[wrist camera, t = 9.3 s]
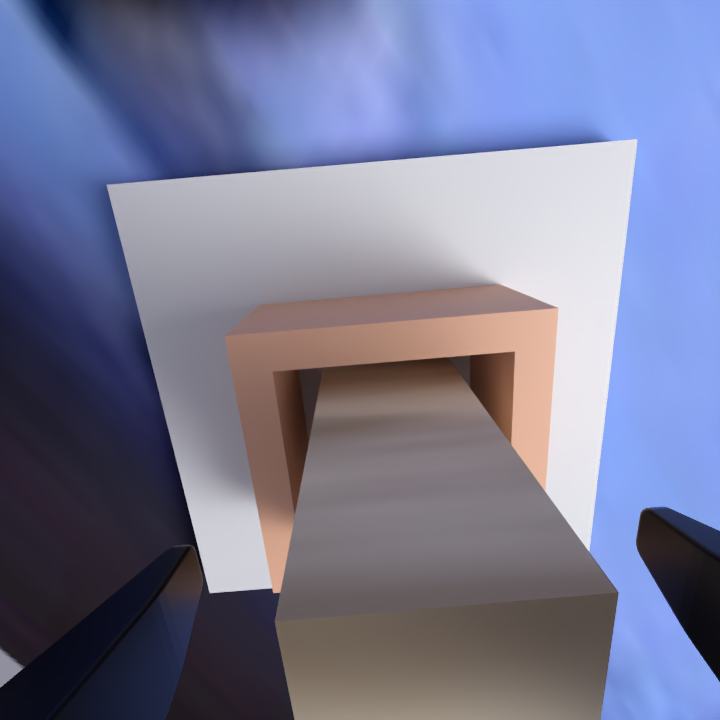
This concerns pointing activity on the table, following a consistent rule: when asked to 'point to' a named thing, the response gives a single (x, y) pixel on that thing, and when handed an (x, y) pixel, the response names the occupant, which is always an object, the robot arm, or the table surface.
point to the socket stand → (374, 316)
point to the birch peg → (433, 564)
